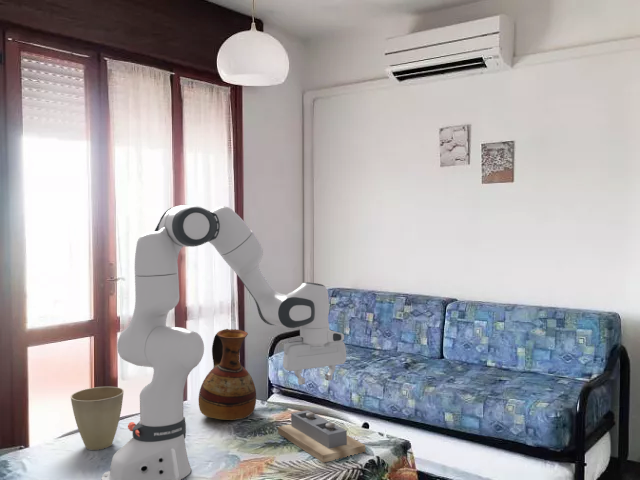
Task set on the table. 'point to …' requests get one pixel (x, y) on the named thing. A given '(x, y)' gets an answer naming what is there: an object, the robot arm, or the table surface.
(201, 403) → the ceramic pitcher
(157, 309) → the robot arm
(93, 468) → the table surface
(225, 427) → the table surface
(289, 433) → the board
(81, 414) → the plant pot
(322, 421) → the block
